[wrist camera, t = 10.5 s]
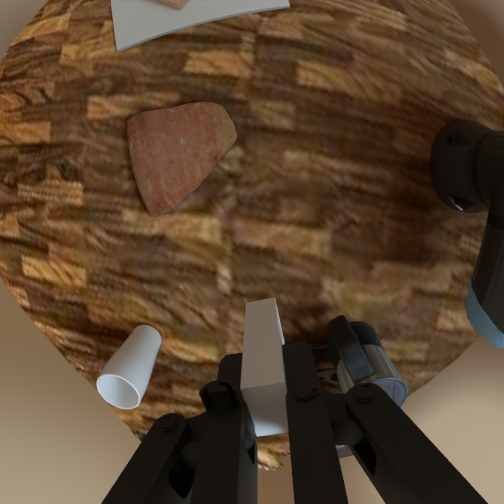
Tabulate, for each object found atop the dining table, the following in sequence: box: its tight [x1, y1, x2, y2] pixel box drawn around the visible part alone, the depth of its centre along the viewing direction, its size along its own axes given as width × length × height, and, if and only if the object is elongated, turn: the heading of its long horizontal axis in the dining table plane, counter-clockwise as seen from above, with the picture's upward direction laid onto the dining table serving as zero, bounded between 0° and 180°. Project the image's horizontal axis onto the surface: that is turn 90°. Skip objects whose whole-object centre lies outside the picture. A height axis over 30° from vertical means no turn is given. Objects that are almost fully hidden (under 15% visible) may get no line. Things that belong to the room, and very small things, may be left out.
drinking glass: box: [96, 325, 161, 409], centre depth 44 cm, size 7×7×15 cm
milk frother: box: [310, 315, 408, 407], centre depth 44 cm, size 14×16×15 cm
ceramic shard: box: [127, 102, 237, 217], centre depth 40 cm, size 15×6×15 cm
